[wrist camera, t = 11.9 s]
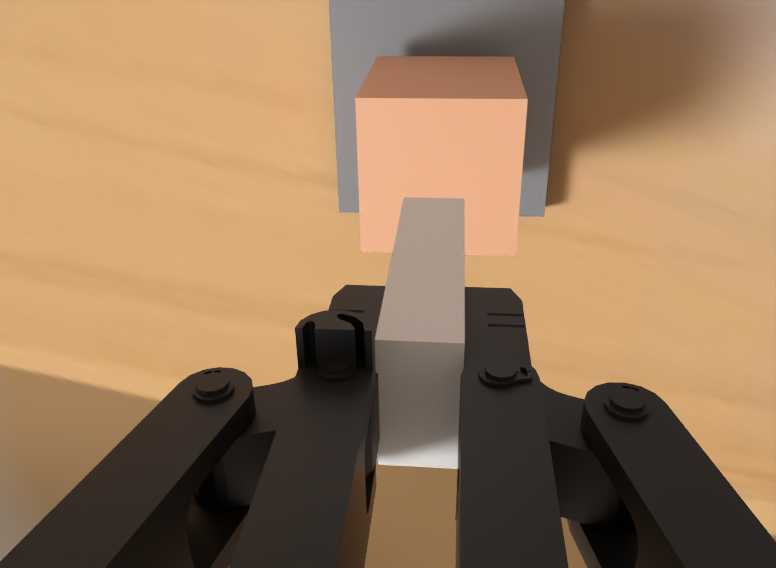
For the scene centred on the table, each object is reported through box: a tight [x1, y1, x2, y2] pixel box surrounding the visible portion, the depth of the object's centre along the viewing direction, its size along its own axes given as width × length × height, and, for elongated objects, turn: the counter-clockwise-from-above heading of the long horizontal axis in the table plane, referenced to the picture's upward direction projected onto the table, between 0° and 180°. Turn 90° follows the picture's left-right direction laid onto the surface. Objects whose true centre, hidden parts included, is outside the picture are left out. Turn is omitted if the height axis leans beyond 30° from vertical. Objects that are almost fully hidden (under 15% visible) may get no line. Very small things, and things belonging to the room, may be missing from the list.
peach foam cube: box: [355, 56, 528, 256], centre depth 26 cm, size 5×5×7 cm
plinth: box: [329, 0, 565, 217], centre depth 29 cm, size 9×11×1 cm
